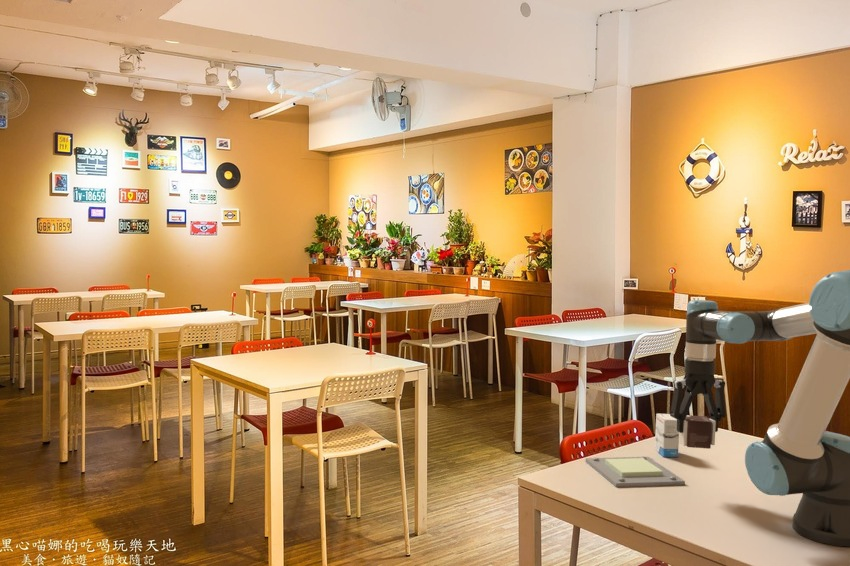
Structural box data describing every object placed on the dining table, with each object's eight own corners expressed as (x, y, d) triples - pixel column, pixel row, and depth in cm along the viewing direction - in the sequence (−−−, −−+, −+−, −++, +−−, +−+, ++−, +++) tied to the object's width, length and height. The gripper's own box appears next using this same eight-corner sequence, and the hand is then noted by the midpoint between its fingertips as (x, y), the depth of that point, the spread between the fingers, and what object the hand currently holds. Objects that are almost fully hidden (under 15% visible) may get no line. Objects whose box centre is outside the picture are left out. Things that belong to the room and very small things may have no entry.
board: (684, 484, 194) (685, 476, 194) (615, 486, 191) (616, 479, 191) (648, 459, 215) (648, 452, 215) (585, 461, 212) (585, 454, 212)
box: (710, 449, 185) (712, 421, 184) (686, 447, 186) (688, 420, 185) (705, 443, 191) (707, 416, 190) (682, 441, 192) (683, 414, 191)
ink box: (678, 457, 218) (680, 420, 218) (662, 457, 218) (664, 419, 218) (669, 449, 227) (671, 413, 226) (654, 449, 227) (655, 413, 226)
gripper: (727, 356, 192) (723, 439, 193) (657, 356, 189) (654, 441, 190) (743, 360, 184) (739, 447, 186) (671, 361, 181) (668, 449, 183)
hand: (696, 443), depth 188 cm, fingers closed on box, 7 cm apart
